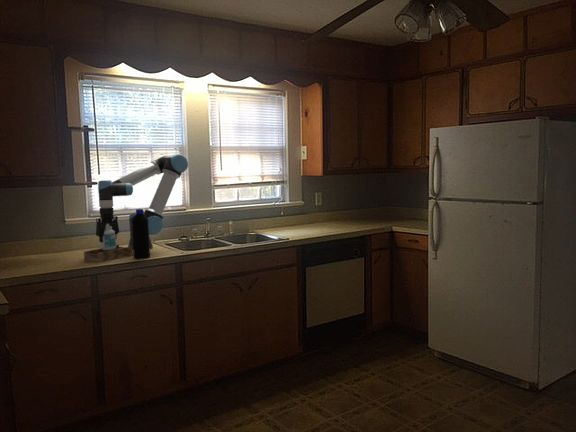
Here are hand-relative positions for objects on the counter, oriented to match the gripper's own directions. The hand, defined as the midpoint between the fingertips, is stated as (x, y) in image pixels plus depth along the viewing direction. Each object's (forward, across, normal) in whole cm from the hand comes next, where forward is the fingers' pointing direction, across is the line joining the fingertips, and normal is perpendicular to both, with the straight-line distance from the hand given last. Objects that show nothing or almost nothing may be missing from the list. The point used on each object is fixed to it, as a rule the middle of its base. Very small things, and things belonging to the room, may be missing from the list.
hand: (108, 246), depth 286 cm
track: (+6, 0, 0) cm, 6 cm away
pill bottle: (+2, 0, 0) cm, 2 cm away
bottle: (+7, -8, +18) cm, 21 cm away
